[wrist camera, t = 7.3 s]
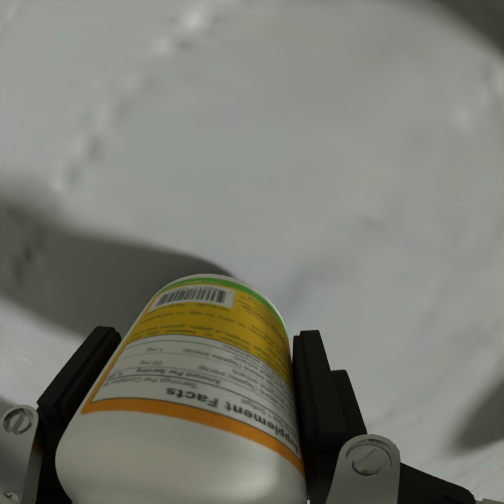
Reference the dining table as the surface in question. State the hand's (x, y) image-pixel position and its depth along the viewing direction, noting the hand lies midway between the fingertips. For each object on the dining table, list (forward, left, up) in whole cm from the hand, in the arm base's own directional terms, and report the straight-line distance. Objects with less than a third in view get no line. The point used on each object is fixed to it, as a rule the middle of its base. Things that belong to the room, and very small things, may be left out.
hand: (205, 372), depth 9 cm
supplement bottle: (0, 0, -2) cm, 2 cm away
